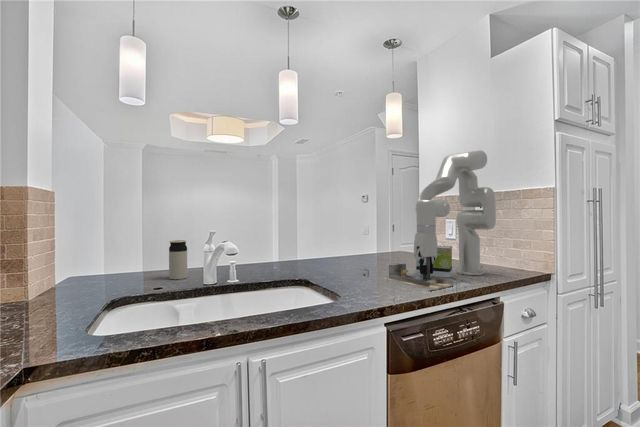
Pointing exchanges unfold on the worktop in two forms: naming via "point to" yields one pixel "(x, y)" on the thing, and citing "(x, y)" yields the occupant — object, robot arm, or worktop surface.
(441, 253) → the tea box
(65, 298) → the worktop surface
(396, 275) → the press bed
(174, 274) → the travel mug
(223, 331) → the worktop surface
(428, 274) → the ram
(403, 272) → the walnut
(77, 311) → the worktop surface
